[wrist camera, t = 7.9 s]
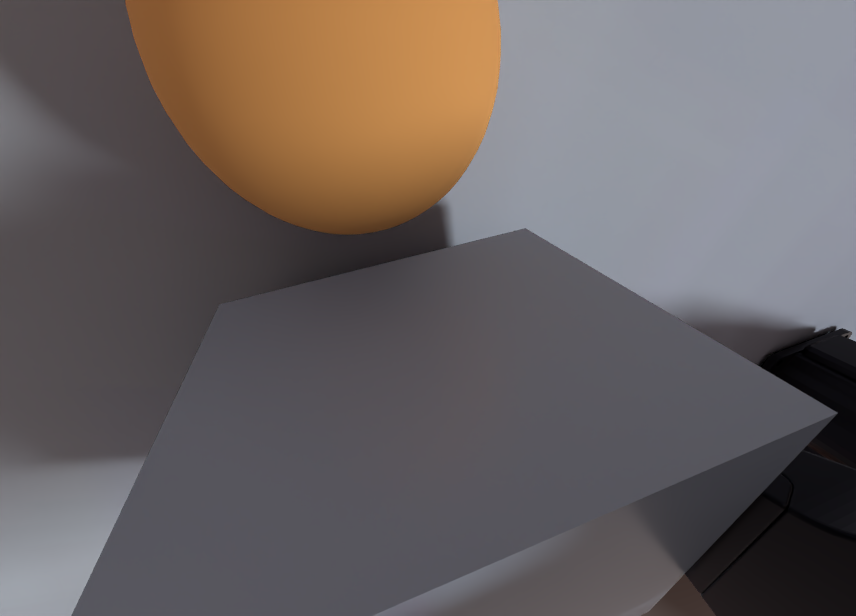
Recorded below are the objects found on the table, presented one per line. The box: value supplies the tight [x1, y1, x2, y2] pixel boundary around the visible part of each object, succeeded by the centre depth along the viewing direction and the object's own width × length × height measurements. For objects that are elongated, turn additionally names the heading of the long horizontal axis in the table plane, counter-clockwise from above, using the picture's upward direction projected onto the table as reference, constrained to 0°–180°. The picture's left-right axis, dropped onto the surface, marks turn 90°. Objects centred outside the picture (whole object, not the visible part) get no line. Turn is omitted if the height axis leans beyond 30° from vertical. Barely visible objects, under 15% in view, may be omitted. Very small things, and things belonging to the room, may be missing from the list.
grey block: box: [72, 228, 838, 616], centre depth 8 cm, size 8×8×6 cm
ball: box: [125, 0, 501, 235], centre depth 5 cm, size 5×5×5 cm
